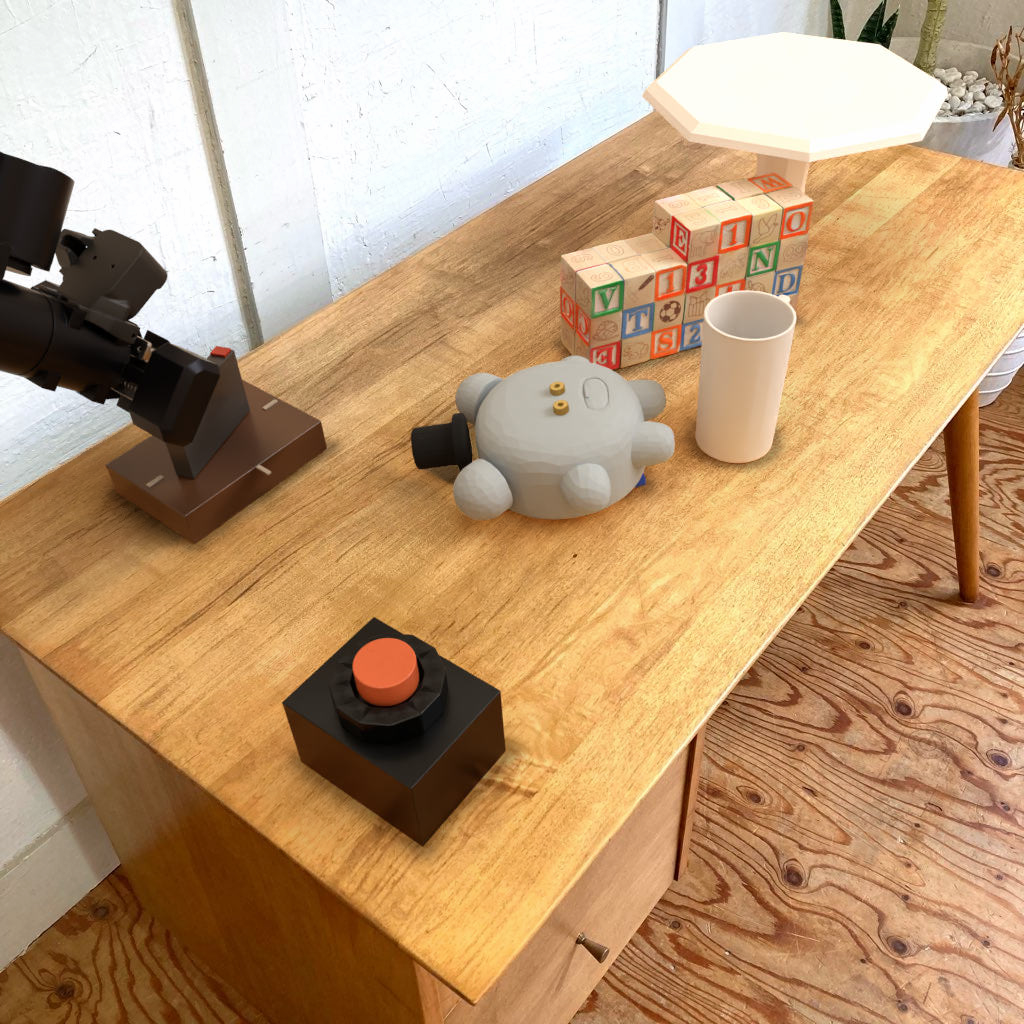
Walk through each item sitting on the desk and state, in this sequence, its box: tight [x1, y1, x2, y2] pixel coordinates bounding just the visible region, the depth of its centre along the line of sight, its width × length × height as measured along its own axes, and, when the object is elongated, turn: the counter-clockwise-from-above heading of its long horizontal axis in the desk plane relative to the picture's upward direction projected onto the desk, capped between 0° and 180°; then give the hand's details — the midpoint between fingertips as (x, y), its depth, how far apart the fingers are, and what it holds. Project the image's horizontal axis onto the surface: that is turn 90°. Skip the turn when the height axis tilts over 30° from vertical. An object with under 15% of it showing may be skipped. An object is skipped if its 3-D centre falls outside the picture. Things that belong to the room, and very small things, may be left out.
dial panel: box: [105, 379, 328, 545], centre depth 85 cm, size 14×13×3 cm
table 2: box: [641, 31, 949, 194], centre depth 103 cm, size 28×28×17 cm
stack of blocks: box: [559, 173, 815, 371], centre depth 94 cm, size 21×6×12 cm, turn 112°
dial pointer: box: [165, 345, 250, 479], centre depth 82 cm, size 9×2×6 cm, turn 162°
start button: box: [352, 638, 419, 706], centre depth 60 cm, size 4×4×2 cm
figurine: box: [410, 355, 676, 521], centre depth 82 cm, size 17×8×20 cm
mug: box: [695, 290, 797, 464], centre depth 83 cm, size 10×7×12 cm, turn 139°
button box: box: [281, 616, 507, 847], centre depth 63 cm, size 10×8×8 cm
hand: (194, 386), depth 83 cm, fingers closed
